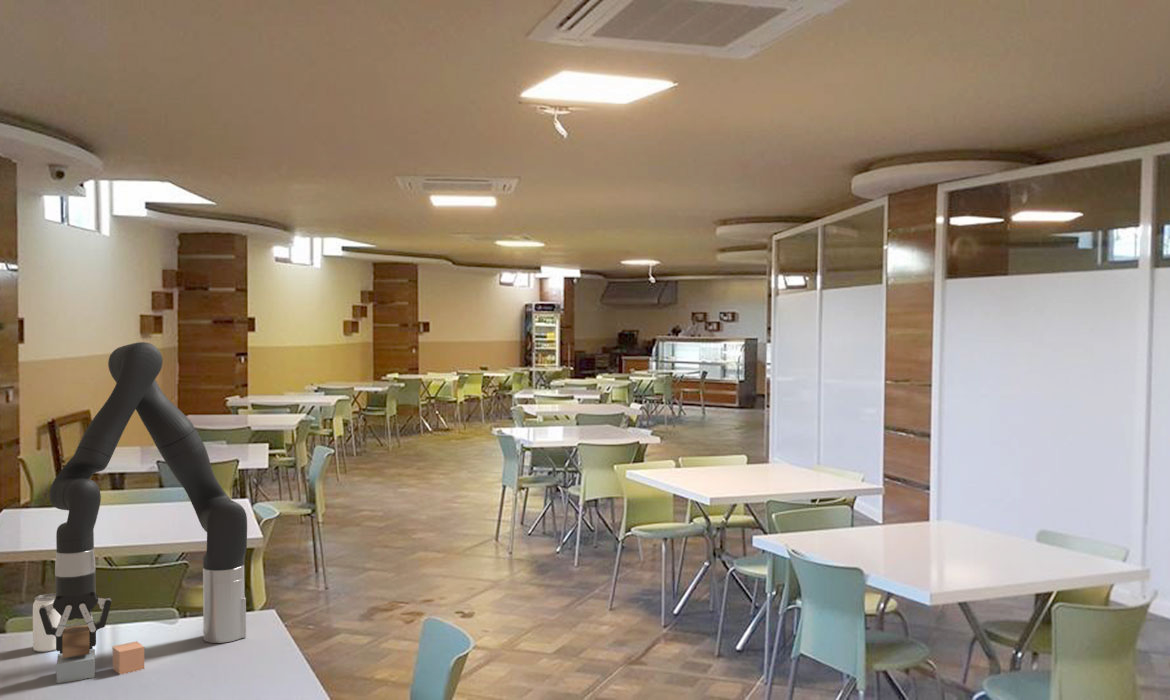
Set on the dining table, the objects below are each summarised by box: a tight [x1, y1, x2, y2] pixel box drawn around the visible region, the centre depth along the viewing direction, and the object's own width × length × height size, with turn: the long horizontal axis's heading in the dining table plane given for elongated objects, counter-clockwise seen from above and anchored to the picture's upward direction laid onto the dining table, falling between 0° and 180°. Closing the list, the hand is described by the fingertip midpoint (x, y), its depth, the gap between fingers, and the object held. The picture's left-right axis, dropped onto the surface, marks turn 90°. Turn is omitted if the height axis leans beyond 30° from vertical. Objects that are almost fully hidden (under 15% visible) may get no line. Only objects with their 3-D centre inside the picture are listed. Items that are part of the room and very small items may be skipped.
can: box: [32, 593, 66, 653], centre depth 216 cm, size 6×6×12 cm
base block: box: [56, 648, 96, 684], centre depth 199 cm, size 7×7×4 cm
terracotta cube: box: [112, 640, 145, 675], centre depth 203 cm, size 5×5×5 cm
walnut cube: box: [62, 624, 91, 658], centre depth 199 cm, size 5×5×5 cm
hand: (76, 650), depth 199 cm, fingers closed on walnut cube, 4 cm apart
